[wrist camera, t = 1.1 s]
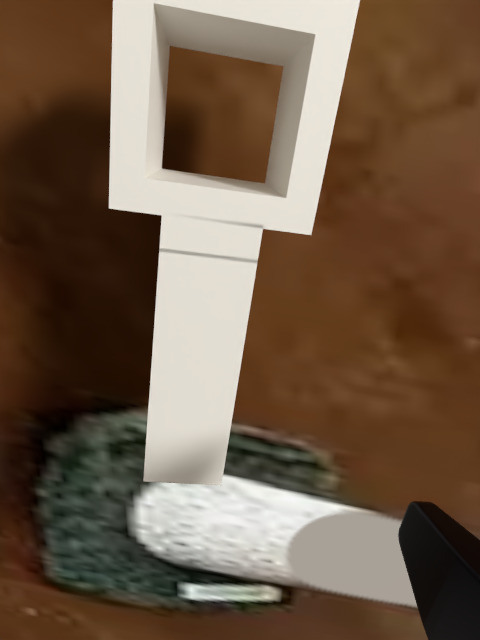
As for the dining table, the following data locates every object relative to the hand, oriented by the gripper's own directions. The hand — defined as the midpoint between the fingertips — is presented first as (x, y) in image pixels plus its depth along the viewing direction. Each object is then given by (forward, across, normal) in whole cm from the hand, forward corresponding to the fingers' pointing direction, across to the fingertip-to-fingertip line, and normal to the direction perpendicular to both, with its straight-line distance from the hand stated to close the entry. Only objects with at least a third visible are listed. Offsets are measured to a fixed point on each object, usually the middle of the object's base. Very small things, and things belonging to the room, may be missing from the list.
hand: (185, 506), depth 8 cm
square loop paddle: (+12, 0, -3) cm, 13 cm away
